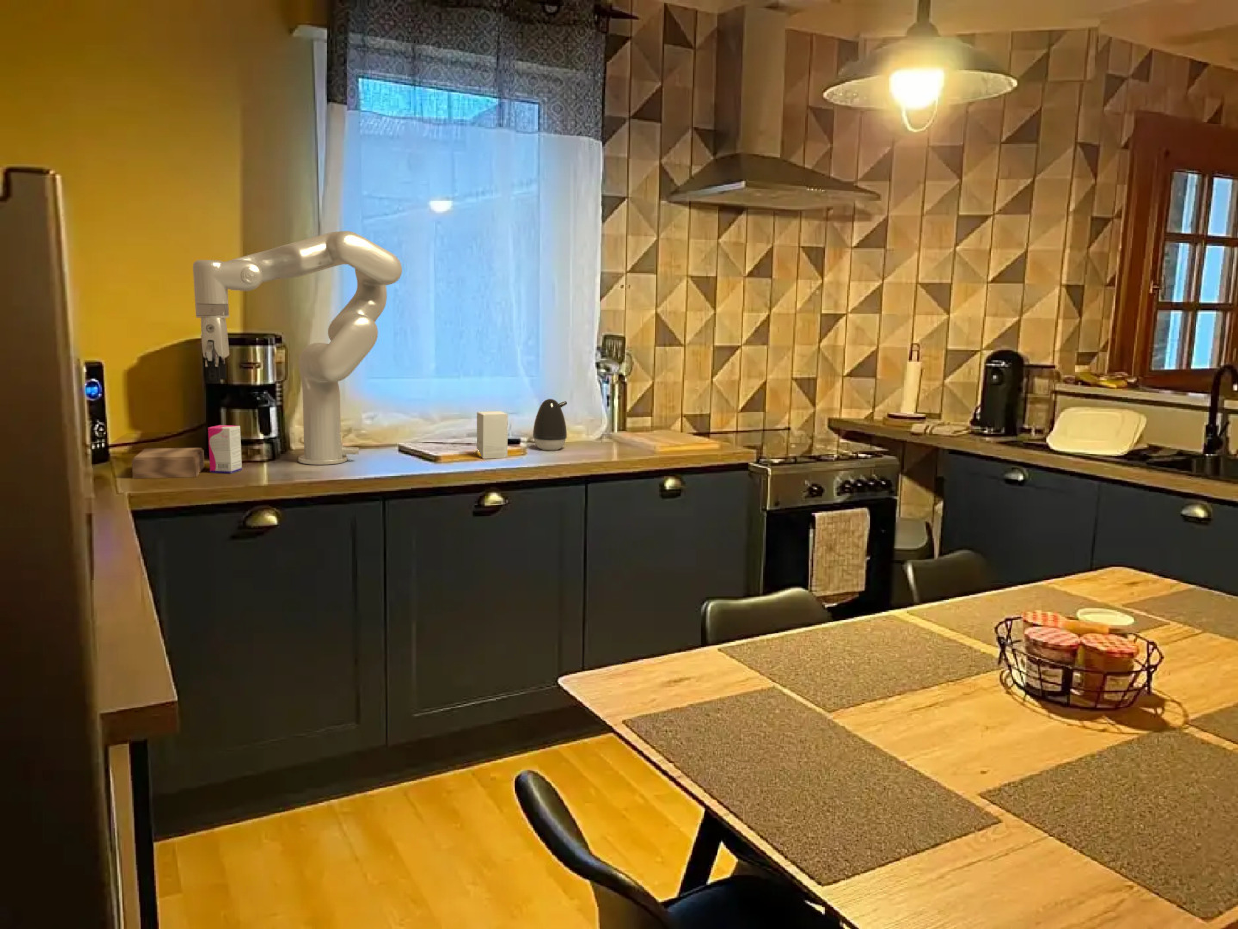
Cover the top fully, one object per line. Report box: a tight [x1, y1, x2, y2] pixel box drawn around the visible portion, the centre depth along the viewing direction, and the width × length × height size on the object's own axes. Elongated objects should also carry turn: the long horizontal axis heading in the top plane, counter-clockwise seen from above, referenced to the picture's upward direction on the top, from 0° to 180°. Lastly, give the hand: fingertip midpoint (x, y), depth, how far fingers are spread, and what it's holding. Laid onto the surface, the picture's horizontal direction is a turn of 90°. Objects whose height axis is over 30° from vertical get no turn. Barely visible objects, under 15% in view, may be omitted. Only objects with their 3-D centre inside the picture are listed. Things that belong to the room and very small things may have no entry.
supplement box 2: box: [476, 410, 509, 460], centre depth 274 cm, size 7×7×13 cm
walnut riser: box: [131, 447, 205, 479], centre depth 239 cm, size 14×14×5 cm
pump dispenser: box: [532, 398, 568, 452], centre depth 290 cm, size 10×10×15 cm
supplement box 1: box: [207, 424, 243, 475], centre depth 242 cm, size 6×6×12 cm
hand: (216, 381), depth 240 cm, fingers open, 9 cm apart
